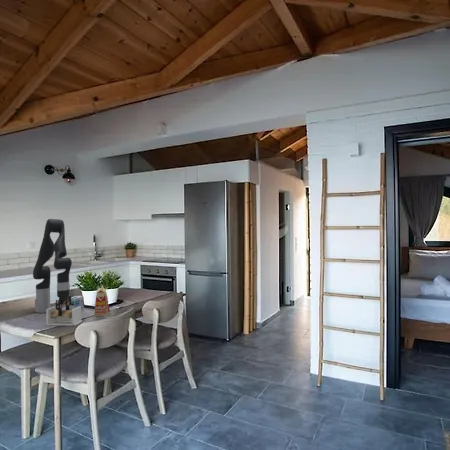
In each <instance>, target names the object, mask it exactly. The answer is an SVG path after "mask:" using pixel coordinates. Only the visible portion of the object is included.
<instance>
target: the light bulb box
mask: <svg viewBox="0 0 450 450" xmlns="http://www.w3.org/2000/svg"><path fill="white" fill-rule="evenodd" d="M84 301H85V299H84V295H74V296H71V305H70V306H69V310H72V309H75V308H77V307H79V306H81V312H83V311H84V305H85V304H84ZM69 303H70V301H69Z"/></svg>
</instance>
